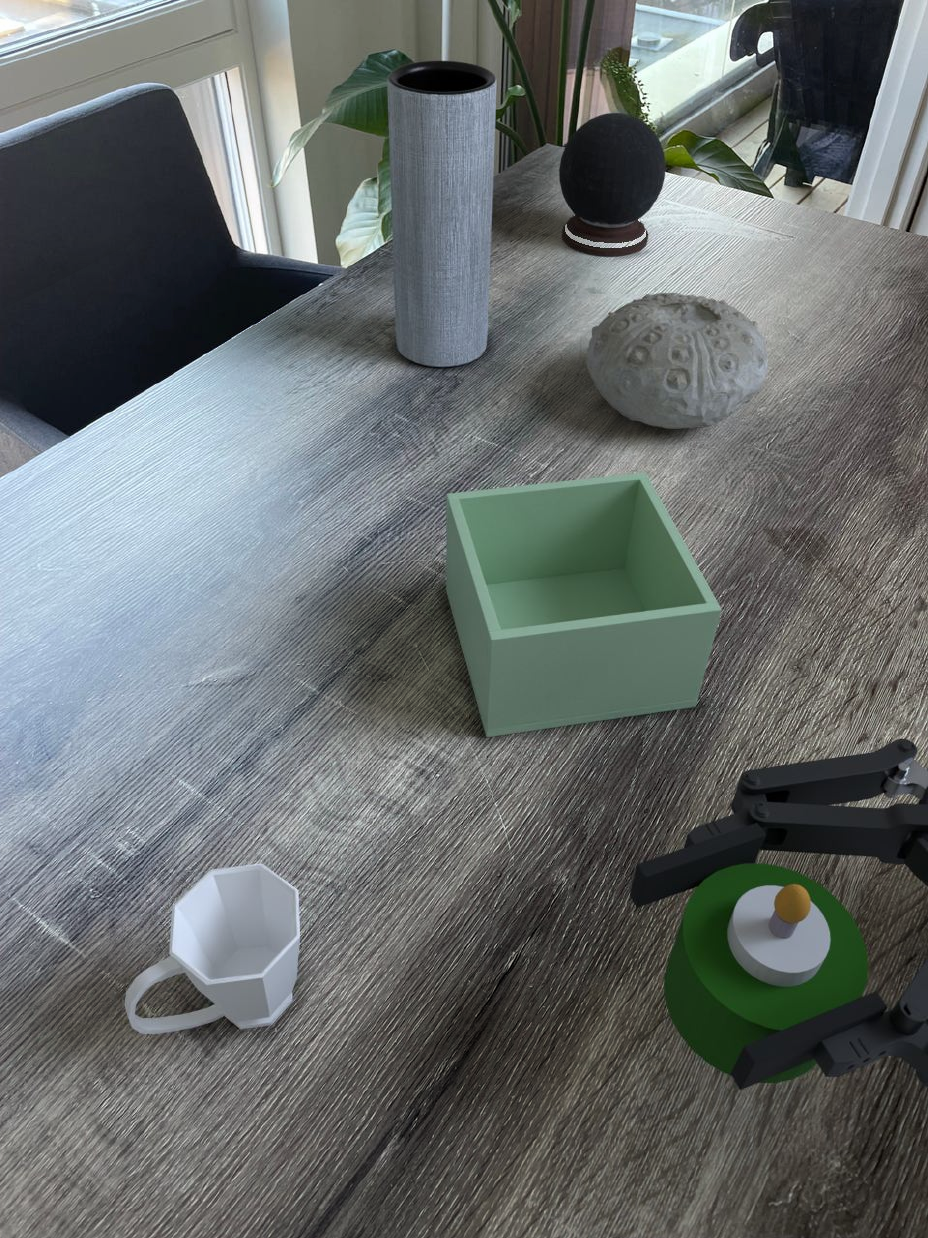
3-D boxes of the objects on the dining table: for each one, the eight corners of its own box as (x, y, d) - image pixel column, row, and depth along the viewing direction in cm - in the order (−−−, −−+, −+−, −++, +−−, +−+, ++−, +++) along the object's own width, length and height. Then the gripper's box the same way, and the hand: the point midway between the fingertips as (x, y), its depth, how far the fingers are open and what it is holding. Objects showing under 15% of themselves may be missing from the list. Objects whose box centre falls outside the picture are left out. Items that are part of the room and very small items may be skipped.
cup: (338, 1013, 56) (327, 942, 50) (166, 1109, 52) (132, 1044, 47) (287, 915, 60) (271, 840, 55) (124, 997, 56) (89, 925, 51)
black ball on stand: (603, 209, 137) (616, 90, 127) (676, 241, 130) (696, 118, 120) (533, 234, 131) (540, 111, 120) (605, 269, 124) (620, 142, 113)
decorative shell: (562, 364, 107) (570, 274, 100) (717, 349, 110) (736, 261, 103) (613, 459, 95) (627, 365, 88) (787, 439, 98) (814, 347, 91)
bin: (695, 707, 73) (722, 609, 66) (486, 737, 70) (491, 640, 63) (629, 567, 84) (645, 471, 77) (446, 590, 81) (446, 493, 74)
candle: (694, 896, 53) (732, 781, 46) (851, 965, 51) (916, 855, 44) (639, 1031, 48) (674, 925, 41) (812, 1117, 45) (879, 1019, 38)
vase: (468, 317, 114) (473, 55, 96) (500, 359, 108) (513, 86, 89) (384, 331, 112) (373, 64, 93) (413, 375, 105) (406, 97, 86)
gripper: (1222, 1048, 46) (806, 1254, 39) (915, 717, 60) (573, 830, 53) (1323, 970, 40) (862, 1192, 34) (961, 627, 54) (587, 741, 48)
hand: (686, 971), depth 44 cm, fingers closed on candle, 8 cm apart
